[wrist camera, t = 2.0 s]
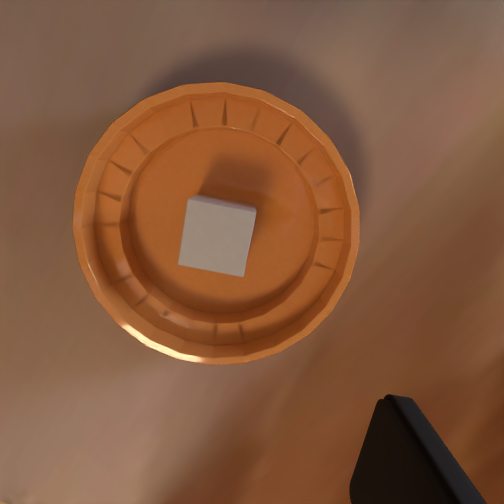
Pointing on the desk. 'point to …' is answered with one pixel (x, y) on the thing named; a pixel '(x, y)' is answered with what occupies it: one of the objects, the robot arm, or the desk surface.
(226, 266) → the block
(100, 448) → the desk surface
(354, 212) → the bowl
